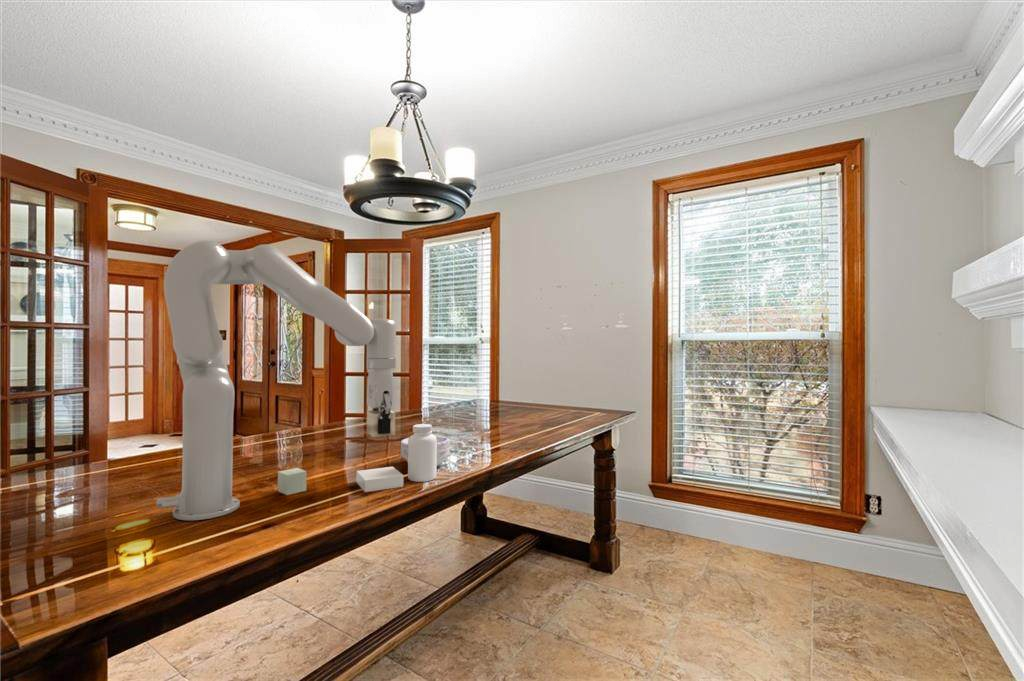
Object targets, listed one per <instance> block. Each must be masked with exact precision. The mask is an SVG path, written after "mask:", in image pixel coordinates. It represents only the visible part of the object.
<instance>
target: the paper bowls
mask: <svg viewBox="0 0 1024 681" xmlns="http://www.w3.org/2000/svg"><path fill="white" fill-rule="evenodd" d="M435 436H436V439H437V467H438V466H440V465H441V464H443V461H444V460H445V458H447V457H449V456H450V448H451V447H450V445H451V441H450V438H448V437H446V436H442V435H441V436H439V435H435ZM408 440H409V437H406V438H404V439H402V440H401V441H400V457H401V458H403V459H406V462H407V463H408Z"/></svg>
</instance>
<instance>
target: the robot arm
mask: <svg viewBox="0 0 1024 681" xmlns="http://www.w3.org/2000/svg"><path fill="white" fill-rule="evenodd" d="M163 279H164V280H163V292H164V293H163V294H164V300H165V305H166V308H167V315H168V320H169V325H170V330H171V335H172V347H173V350H174V352H175V355H176V358H177V363H178V367H179V371H180V372H179V373H180V377H181V380H182V384H183V388H182V389H183V390H182V440H181V441H182V443H181V444H182V457H181V458H182V460H181V461H182V463H181V465H182V467H181V490H180V493H178V494H175V495H174V496H169V497H168V496H167V497H166V496H165V497H157V498H156V508H161V509H163V510H164V509H170V508H174V509H173V510H172V517H173V518H174V519H176V520H179V521H201V520H202V521H203V520H209V519H215V518H218V517H223V516H226V515H229V514H231V513H233V512H234V511H236V510H238V509H239V507H240V504H241V503H240V502H241V501H240V499H238V498H237V497H233V464H234V463H233V458H234V457H233V456H234V454H233V452H234V450H233V449H234V436H233V435H234V414H235V412H234V410H235V394H236V393H235V386H234V382H233V380H232V379H231V377H230V372H229V368H228V364H227V360H226V354H225V349H224V343H223V342H224V340H223V336H222V335H221V333H220V330H219V326H218V322H217V319H216V318H217V317H216V314H215V309H214V308H215V307H214V303H213V302H214V301H213V297H212V286H213V285H260V284H263V285H264V286H266V287H267V288H269V289H270V290H272V291H273V293H276V294H277V295H278V296H279V297H280V298H282V299H283V300H284V301H286V302H287V303H288V304H289V305H290V306H292V307H293V308H295V309H296V310H297V311H299V312H301V313H303V314H306V315H309V316H311V317H314V318H316V319H318V320H319V321H321V322H322V323H324V324H325V325H327V326H328V327H330V328H331V329H332V330H334V337H335V339H336V340H337V341H338V342H339V343H340V344H342V345H345V346H348V347H363V346H366V371H368V376H367V387H366V388H367V390H366V391H367V392H366V404H367V405H368V406H369V407H371V411H375V410H379V419H378V434H389V433H390V425H391V414H390V413H391V412H390V411H392V407H393V406H394V395H395V394H394V374H393V371H396V368H397V367H396V366H397V365H396V364H397V363H396V362H397V361H396V358H397V353H396V352H397V350H396V349H397V325H396V324H397V323H396V321H395V320H393V319H390V318H389V319H388V318H372V319H369V318H368V317H367V316H366V315H365V314H364V313H362V312H361V311H360V310H359V309H357V308H356V307H355V306H354V305H353V304H351V303H350V302H349V301H347V300H346V299H344V298H343V297H341V295H338V294H337V293H335V292H334V291H332V290H331V289H329V287H327V286H325V285H324V284H322V283H320V282H319V281H318V280H317V279H315V278H314V277H313V276H311V275H310V273H308V272H307V271H306V270H304V269H303V267H301V266H299V265H298V264H297V263H296V262H295V261H293V260H292V259H291V258H290V257H288V255H286V254H285V253H283V252H282V251H281V250H279V248H276V247H275V246H274V245H270V244H259V245H256V246H254V247H253V248H251V249H248V250H245V249H244V250H243V249H242V250H241V249H240V250H239V249H237V250H236V249H235V250H234V249H226V248H225V247H224V246H223V245H221V244H220V243H218V242H216V241H212V240H199V241H196V242H193V243H190V244H189V245H187V246H185V247H184V248H182V249H181V250H179V251H178V253H176V254H175V255H174V256H173V258H172V259H171V261H170V262H169V264H168V265H167V267H166V270H165V273H164V278H163ZM382 410H383V411H382Z"/></svg>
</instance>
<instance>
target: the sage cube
mask: <svg viewBox="0 0 1024 681" xmlns="http://www.w3.org/2000/svg"><path fill="white" fill-rule="evenodd" d="M307 475H308V474H307V470H304V469H302V468H299V467H295V468H289V469H285V470H279V471H277V492H279V493H281V494H283V495H286V496H288V495H292V494H293V495H294V494H298V493H300V492H301V493H302V492H306V491H307Z"/></svg>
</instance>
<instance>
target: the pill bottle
mask: <svg viewBox="0 0 1024 681" xmlns="http://www.w3.org/2000/svg"><path fill="white" fill-rule="evenodd" d="M412 432H413V434H412V435H410V436H409V437H408V438H409V440H408V462H407V477H408V478H407V479H408V480H409V481H412V482H418V483H424V482H430V481H432V480H435V479H436V477H437V472H438V471H437V469H438V468H437V467H438V466H437V439H436V436H437V435H435V434H433V425H432V424H429V423H417V424H415V425H413V426H412Z"/></svg>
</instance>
